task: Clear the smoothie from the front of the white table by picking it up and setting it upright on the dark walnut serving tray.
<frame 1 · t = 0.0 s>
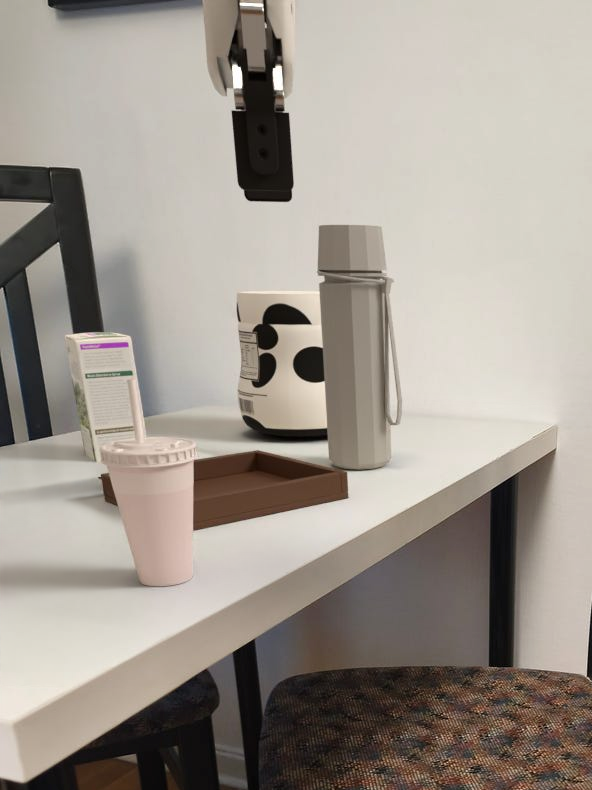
hand: (267, 196, 57), 25 cm above the table, tool pointing down, fingers open, 9 cm apart
milk container: (306, 434, 122), on the table
water bottle: (367, 467, 102), on the table
syrup box: (119, 474, 98), on the table
smoothie: (166, 580, 65), on the table
tray: (227, 499, 87), on the table
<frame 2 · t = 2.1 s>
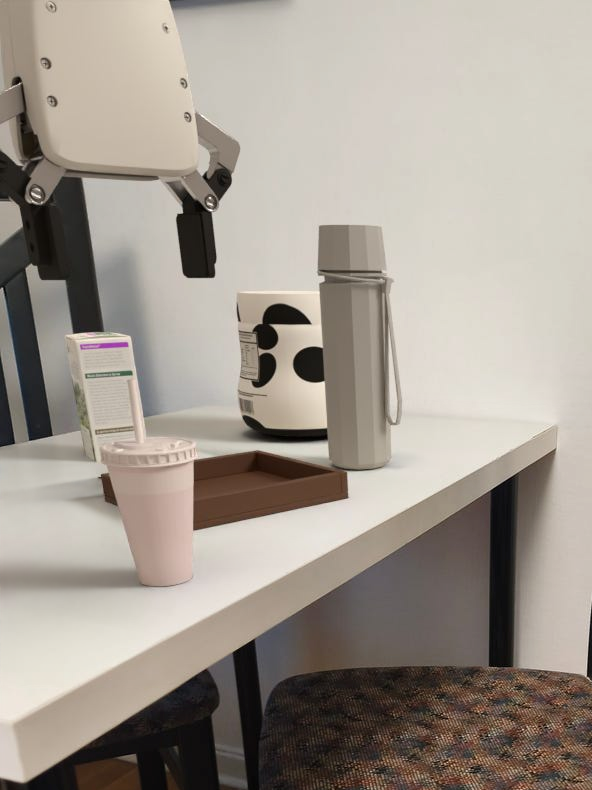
hand: (131, 278, 57), 20 cm above the table, tool pointing down, fingers open, 9 cm apart
nothing on the table moved.
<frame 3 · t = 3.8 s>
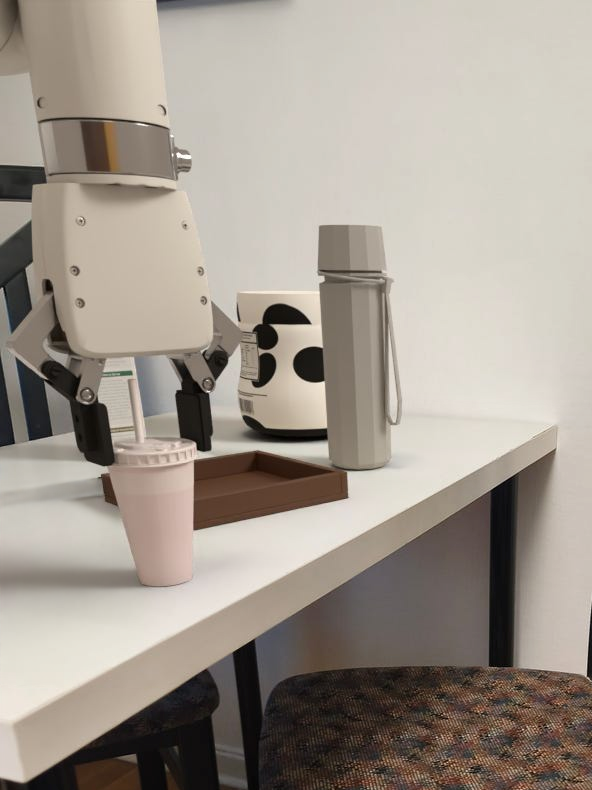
hand: (149, 453, 61), 9 cm above the table, tool pointing down, fingers closed on smoothie, 6 cm apart
smoothie: (166, 580, 65), on the table, touching gripper
everything else where it was.
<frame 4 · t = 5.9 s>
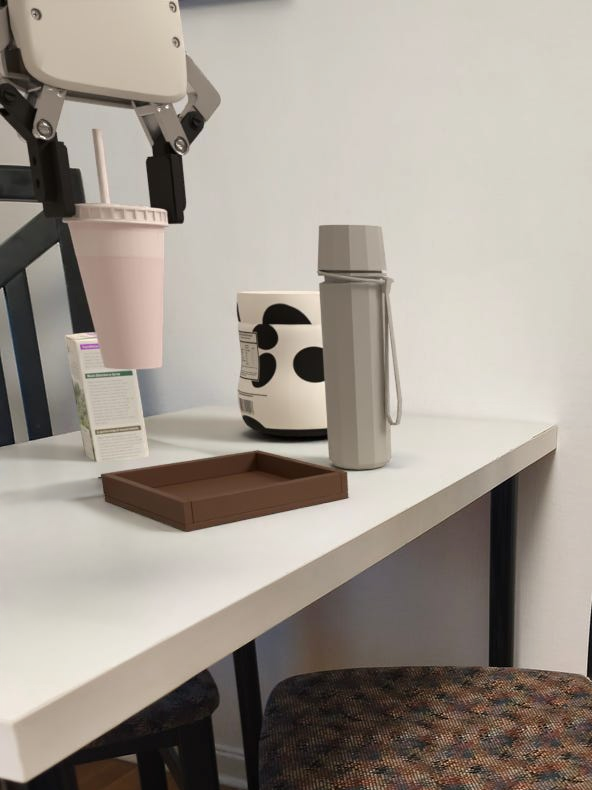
hand: (116, 217, 57), 24 cm above the table, tool pointing down, fingers closed on smoothie, 6 cm apart
smoothie: (134, 369, 60), point 15 cm above the table, touching gripper
everything else where it was.
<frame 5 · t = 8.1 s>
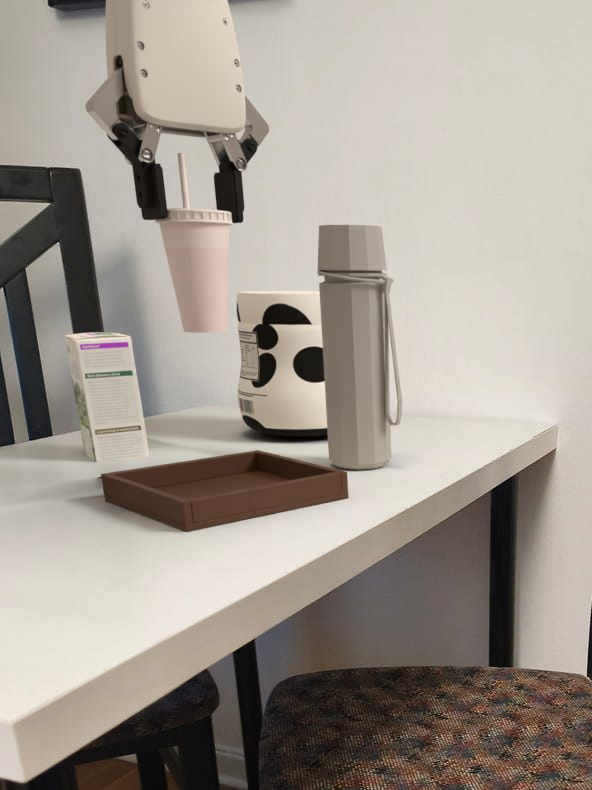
hand: (193, 219, 76), 25 cm above the table, tool pointing down, fingers closed on smoothie, 6 cm apart
smoothie: (205, 333, 79), point 15 cm above the table, touching gripper
everything else where it was.
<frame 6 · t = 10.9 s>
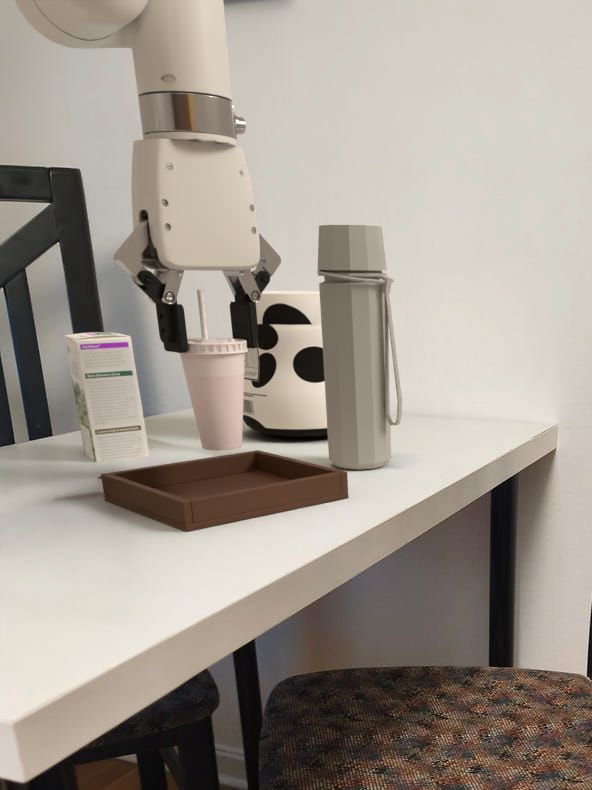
hand: (211, 347, 82), 14 cm above the table, tool pointing down, fingers closed on smoothie, 6 cm apart
smoothie: (222, 449, 85), point 5 cm above the table, touching gripper
everything else where it was.
when the fingers open (10 cm above the table, at t = 12.7 s): smoothie stays where it is, resting on tray.
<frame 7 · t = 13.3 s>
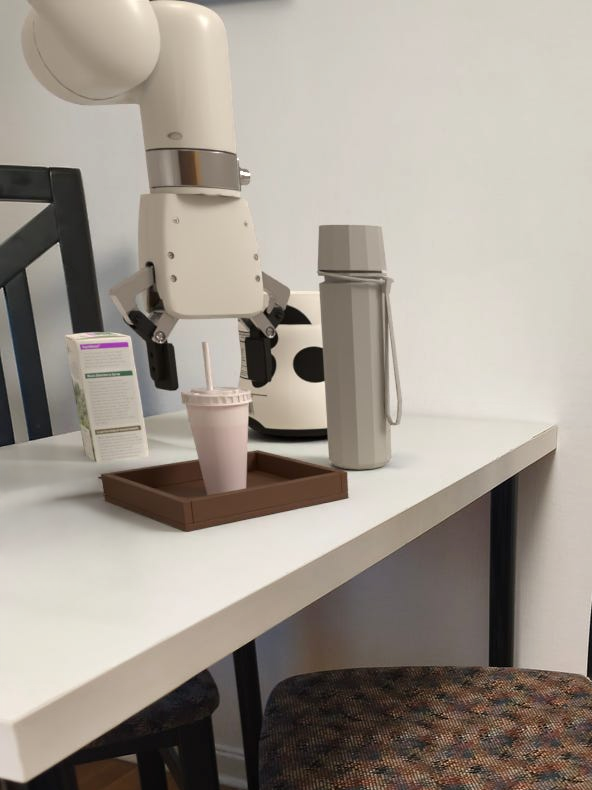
hand: (215, 385, 83), 11 cm above the table, tool pointing down, fingers open, 9 cm apart
smoothie: (226, 495, 87), resting on tray
everything else where it was.
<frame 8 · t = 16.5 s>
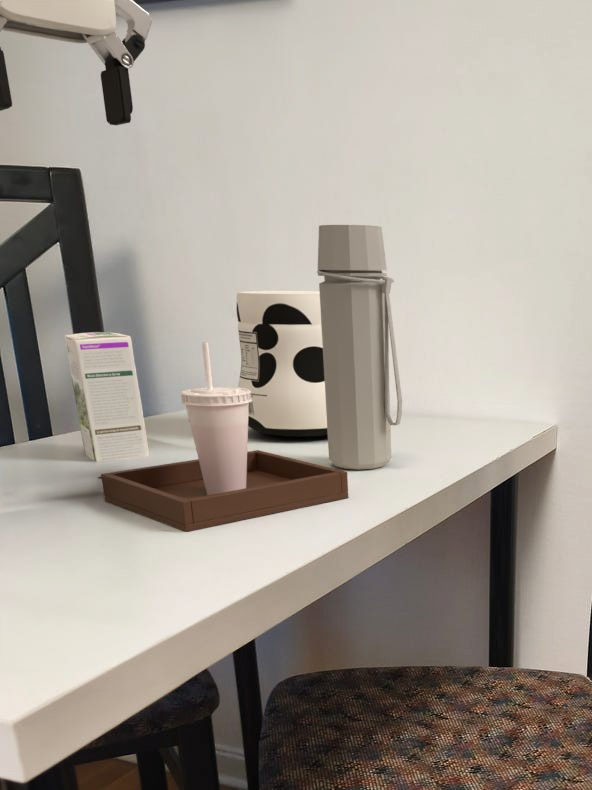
hand: (62, 116, 73), 32 cm above the table, tool pointing down, fingers open, 9 cm apart
nothing on the table moved.
at the end: smoothie inside the target area in the tray (0.1 cm from its centre), point 0.4 cm above the tray's base; smoothie tilted 0°; the gripper is holding nothing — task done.
